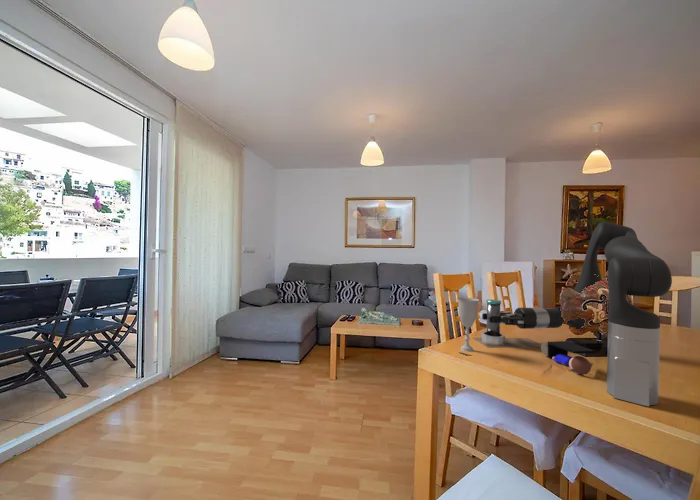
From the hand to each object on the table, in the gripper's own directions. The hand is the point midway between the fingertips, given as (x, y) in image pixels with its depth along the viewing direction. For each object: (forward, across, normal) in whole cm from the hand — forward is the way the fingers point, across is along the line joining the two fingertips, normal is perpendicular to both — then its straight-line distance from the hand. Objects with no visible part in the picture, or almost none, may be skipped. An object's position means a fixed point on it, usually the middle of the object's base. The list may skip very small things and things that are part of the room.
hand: (486, 317), depth 114 cm
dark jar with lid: (-3, 0, +8) cm, 8 cm away
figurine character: (-14, +21, +10) cm, 27 cm away
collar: (-3, 0, +9) cm, 9 cm away
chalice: (+11, +9, +10) cm, 17 cm away
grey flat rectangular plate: (-9, 0, +10) cm, 13 cm away
